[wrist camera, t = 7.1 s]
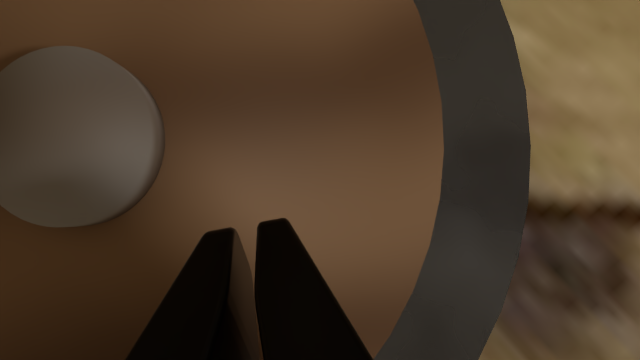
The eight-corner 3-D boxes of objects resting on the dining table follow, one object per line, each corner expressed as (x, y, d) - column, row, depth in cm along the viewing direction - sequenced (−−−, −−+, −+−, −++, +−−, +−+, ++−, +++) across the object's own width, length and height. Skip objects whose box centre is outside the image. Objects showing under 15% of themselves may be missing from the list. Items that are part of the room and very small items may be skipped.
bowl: (261, 738, 15) (215, 1045, 9) (-426, 299, 16) (-818, 344, 11) (675, -5, 15) (857, -122, 10) (-16, -370, 17) (-187, -650, 11)
